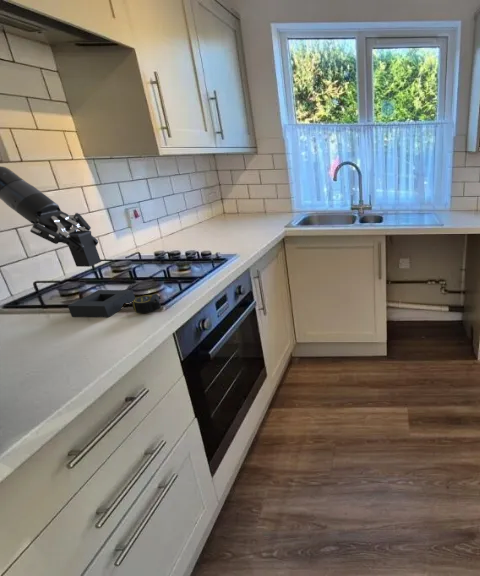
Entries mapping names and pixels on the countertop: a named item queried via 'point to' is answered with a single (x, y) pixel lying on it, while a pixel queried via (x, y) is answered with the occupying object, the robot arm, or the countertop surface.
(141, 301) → the tape measure
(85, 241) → the pad post
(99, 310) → the base pad
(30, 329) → the countertop surface
